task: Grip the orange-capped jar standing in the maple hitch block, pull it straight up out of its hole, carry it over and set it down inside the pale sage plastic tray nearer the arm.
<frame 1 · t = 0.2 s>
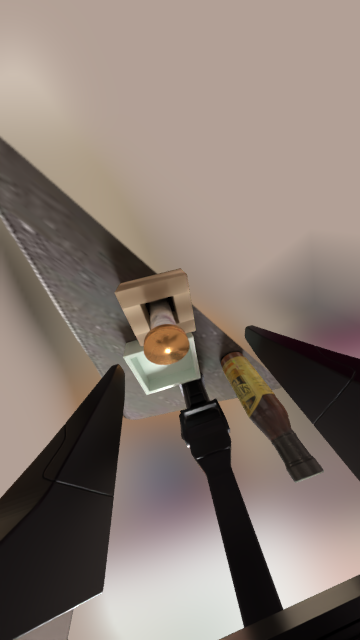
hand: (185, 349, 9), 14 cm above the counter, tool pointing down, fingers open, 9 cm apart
sage tray: (165, 355, 28), on the counter
hitch block: (159, 303, 22), on the counter
sauce bottle: (230, 359, 34), on the counter
orange-capped jar: (162, 319, 17), in the hitch block
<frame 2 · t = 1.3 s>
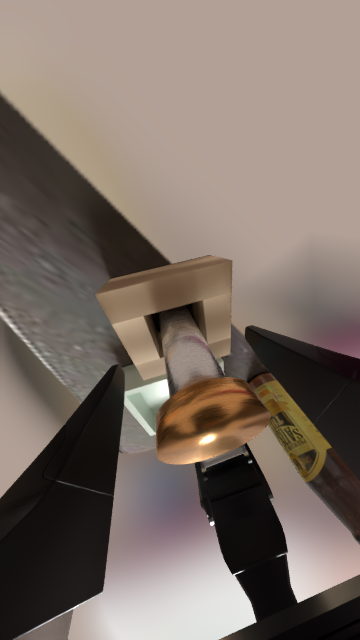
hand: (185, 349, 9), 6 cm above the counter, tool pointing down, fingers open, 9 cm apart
sage tray: (176, 381, 21), on the counter
hitch block: (172, 310, 14), on the counter
sauce bottle: (258, 381, 26), on the counter
orange-capped jar: (183, 343, 10), in the hitch block
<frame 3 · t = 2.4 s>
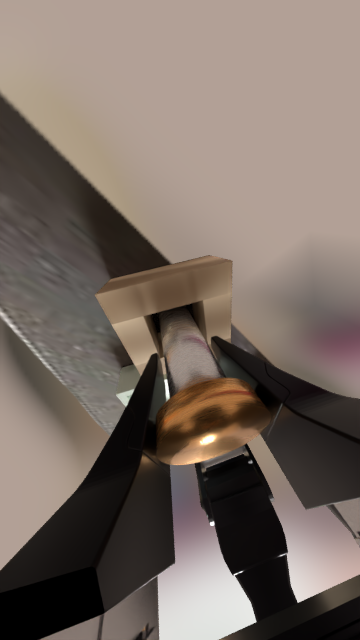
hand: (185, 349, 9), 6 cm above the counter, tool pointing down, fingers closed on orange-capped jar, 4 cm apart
sage tray: (176, 381, 21), on the counter
hitch block: (172, 310, 14), on the counter
orange-capped jar: (183, 344, 10), in the hitch block, touching gripper
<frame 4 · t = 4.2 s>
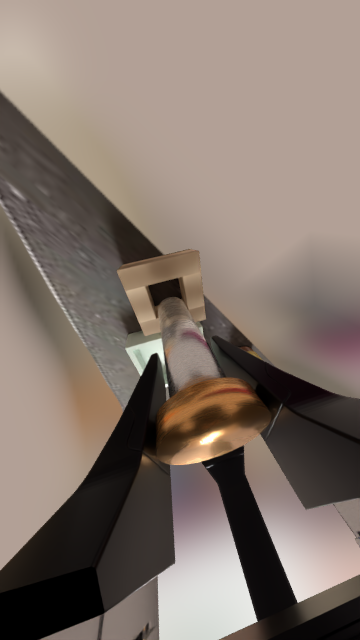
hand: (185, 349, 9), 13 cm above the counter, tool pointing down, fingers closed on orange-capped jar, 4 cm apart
sage tray: (170, 349, 26), on the counter
hitch block: (165, 289, 20), on the counter
orange-capped jar: (183, 343, 10), point 12 cm above the counter, touching gripper
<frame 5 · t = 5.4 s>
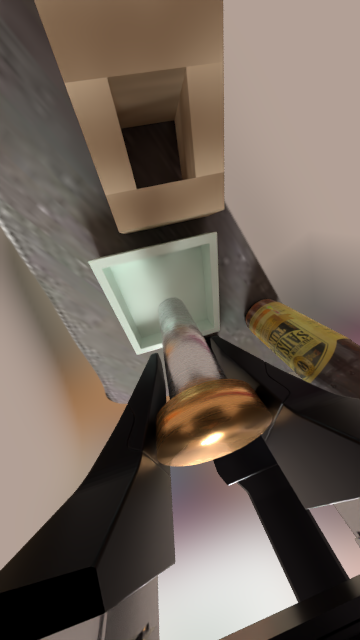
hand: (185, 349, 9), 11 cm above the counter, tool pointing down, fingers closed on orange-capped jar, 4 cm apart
sage tray: (166, 294, 18), on the counter
hitch block: (155, 164, 12), on the counter
sauce bottle: (258, 314, 24), on the counter
orange-capped jar: (183, 344, 10), point 10 cm above the counter, touching gripper
when the fingers open (8 cm above the counter, at t = 6.5 s): orange-capped jar drops 1 cm, resting on sage tray.
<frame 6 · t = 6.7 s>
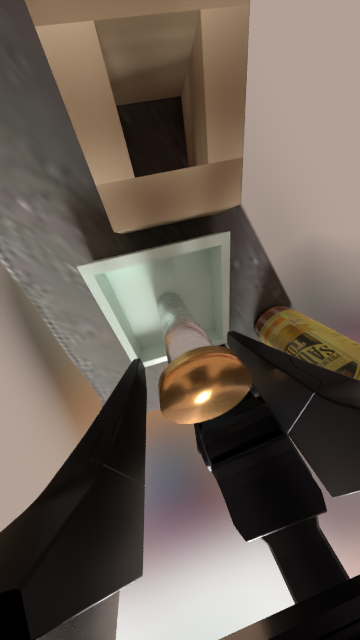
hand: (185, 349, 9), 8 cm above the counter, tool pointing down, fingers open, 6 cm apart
sage tray: (168, 301, 16), on the counter
hitch block: (157, 151, 10), on the counter
sauce bottle: (268, 321, 22), on the counter
orange-capped jar: (181, 331, 11), in the sage tray, point 6 cm above the counter
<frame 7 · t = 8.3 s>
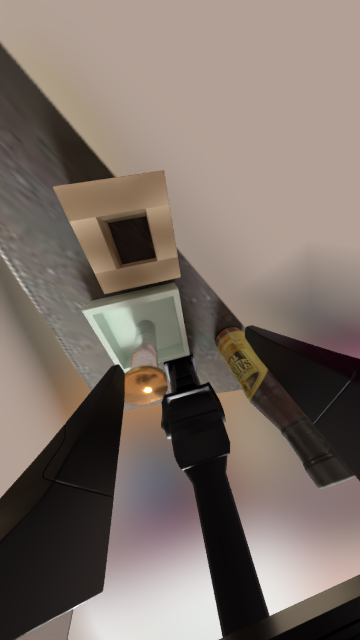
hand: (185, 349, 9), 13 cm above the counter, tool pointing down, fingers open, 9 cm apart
sage tray: (146, 324, 23), on the counter
hitch block: (133, 241, 17), on the counter
sauce bottle: (227, 337, 28), on the counter
orange-capped jar: (145, 350, 17), in the sage tray, point 6 cm above the counter
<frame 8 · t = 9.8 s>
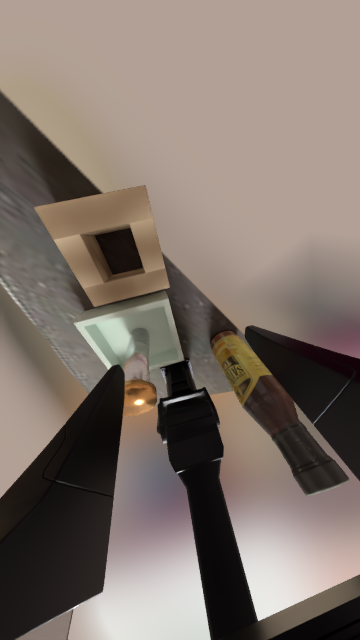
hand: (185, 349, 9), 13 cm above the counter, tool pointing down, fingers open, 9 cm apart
sage tray: (140, 331, 23), on the counter
hitch block: (122, 252, 17), on the counter
sauce bottle: (222, 341, 28), on the counter
orange-capped jar: (137, 360, 17), in the sage tray, point 6 cm above the counter
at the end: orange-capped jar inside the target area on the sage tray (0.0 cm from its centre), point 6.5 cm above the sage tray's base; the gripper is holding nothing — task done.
